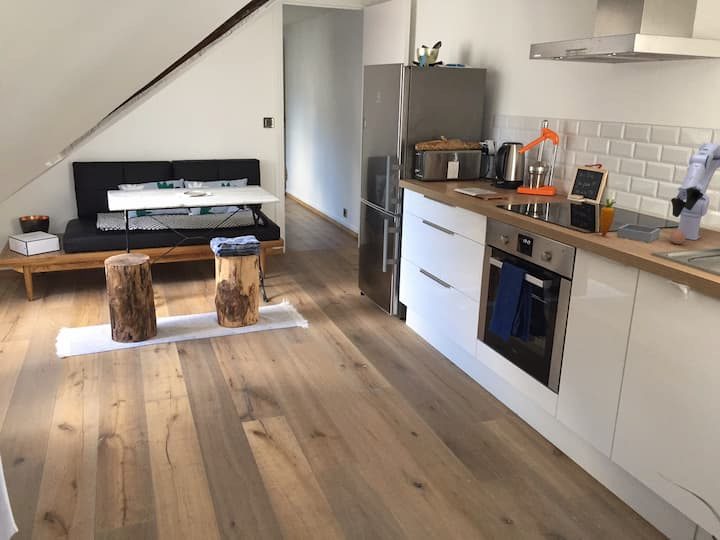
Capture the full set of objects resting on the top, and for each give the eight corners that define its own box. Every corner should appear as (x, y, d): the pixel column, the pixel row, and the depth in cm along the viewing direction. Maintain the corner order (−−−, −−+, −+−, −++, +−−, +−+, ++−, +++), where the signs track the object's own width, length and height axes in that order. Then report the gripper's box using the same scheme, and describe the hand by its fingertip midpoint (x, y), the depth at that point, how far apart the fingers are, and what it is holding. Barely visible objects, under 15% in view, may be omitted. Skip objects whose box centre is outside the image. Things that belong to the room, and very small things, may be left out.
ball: (671, 241, 230) (673, 228, 229) (685, 244, 227) (688, 231, 226) (667, 243, 226) (670, 230, 225) (682, 246, 223) (685, 233, 222)
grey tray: (627, 231, 244) (628, 223, 243) (658, 237, 237) (660, 228, 236) (616, 236, 233) (618, 228, 232) (649, 242, 226) (651, 233, 225)
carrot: (607, 235, 236) (613, 197, 232) (612, 237, 231) (619, 199, 227) (594, 234, 236) (601, 196, 232) (600, 237, 231) (606, 198, 227)
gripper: (671, 184, 232) (660, 214, 228) (694, 169, 218) (683, 200, 214) (687, 192, 232) (677, 222, 228) (712, 178, 218) (701, 209, 214)
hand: (681, 212), depth 221 cm, fingers open, 7 cm apart
